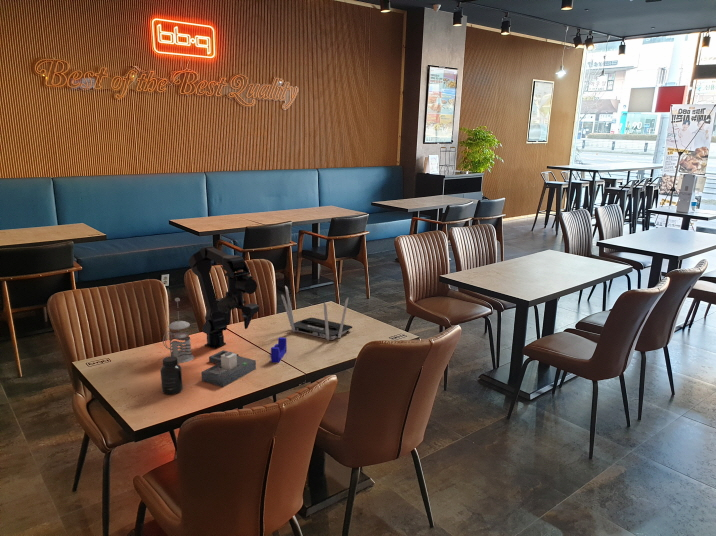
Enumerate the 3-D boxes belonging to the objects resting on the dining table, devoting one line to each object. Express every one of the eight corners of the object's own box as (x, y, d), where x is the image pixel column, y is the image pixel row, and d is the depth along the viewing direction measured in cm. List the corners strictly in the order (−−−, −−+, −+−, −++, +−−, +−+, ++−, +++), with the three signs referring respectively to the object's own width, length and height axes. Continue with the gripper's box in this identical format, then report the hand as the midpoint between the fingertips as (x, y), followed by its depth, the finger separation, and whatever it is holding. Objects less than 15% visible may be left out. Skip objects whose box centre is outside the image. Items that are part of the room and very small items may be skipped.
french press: (199, 358, 220) (195, 297, 214) (172, 366, 212) (167, 304, 206) (185, 351, 226) (181, 292, 220) (159, 359, 218) (154, 298, 212)
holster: (209, 361, 217) (208, 356, 216) (223, 354, 224) (223, 350, 223) (224, 366, 213) (224, 361, 213) (238, 358, 220) (238, 354, 219)
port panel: (202, 380, 200) (201, 370, 199) (235, 363, 215) (235, 354, 215) (222, 387, 195) (222, 377, 195) (255, 369, 211) (255, 359, 210)
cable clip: (276, 350, 229) (275, 337, 228) (286, 351, 228) (286, 337, 227) (267, 362, 217) (267, 348, 216) (278, 363, 217) (278, 348, 215)
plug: (221, 375, 205) (220, 353, 203) (229, 371, 208) (228, 350, 206) (230, 378, 203) (228, 356, 201) (237, 374, 206) (236, 352, 204)
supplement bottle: (164, 386, 195) (162, 354, 192) (184, 386, 196) (182, 354, 193) (159, 395, 189) (157, 362, 186) (180, 395, 189) (178, 362, 186)
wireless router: (363, 333, 250) (364, 290, 245) (335, 349, 231) (335, 303, 226) (302, 319, 267) (302, 279, 262) (271, 333, 247) (270, 290, 243)
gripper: (202, 290, 213) (204, 328, 217) (240, 297, 204) (241, 337, 208) (222, 283, 223) (224, 320, 226) (259, 290, 214) (260, 328, 218)
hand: (237, 326), depth 219 cm, fingers open, 9 cm apart
